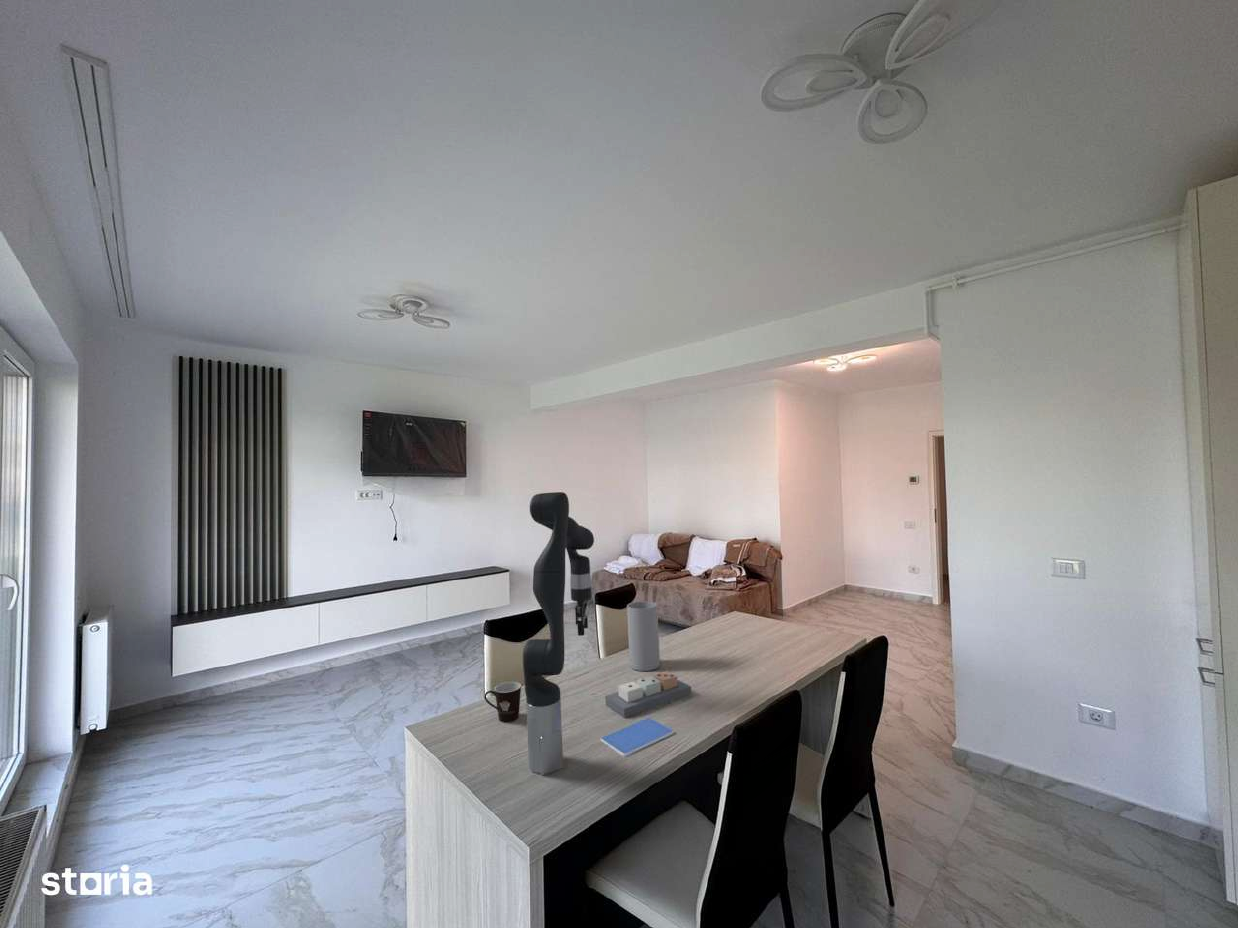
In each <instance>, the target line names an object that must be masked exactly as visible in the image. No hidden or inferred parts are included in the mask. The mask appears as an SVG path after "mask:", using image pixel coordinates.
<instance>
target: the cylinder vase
mask: <svg viewBox="0 0 1238 928" xmlns="http://www.w3.org/2000/svg"><path fill="white" fill-rule="evenodd" d="M626 612H627V631H628V635H627V636H628V653H629V656H628V657H629V667H630V668H631V669H632V670H634V671H637V672H649V671H654V670H656V669H658V668H660V666H661V655H660V654H661V653H660V640H659V638H660V635H659V620H658V619H659V617H658V604H657V603H656V602H653V601H634V602H630V603H628V604H627V605H626Z"/></svg>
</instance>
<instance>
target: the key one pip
mask: <svg viewBox="0 0 1238 928" xmlns="http://www.w3.org/2000/svg"><path fill="white" fill-rule="evenodd" d="M617 687H618V688H617V689H618V694H619V697H620V698H622V699H624V700H625V701H627V702H631V701H634V700H637V699H640V698H643V688H642V686H640V685H638V684H636V682H635V681H630V682H627V683H623V684H620V685H618V686H617Z"/></svg>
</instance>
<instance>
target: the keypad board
mask: <svg viewBox="0 0 1238 928" xmlns="http://www.w3.org/2000/svg"><path fill="white" fill-rule="evenodd" d="M677 680H678V686H677V687H674V688H671V689H668V690H665V691H664V690H662V689H661V692H659V693H656V694H652V695H649V696H645V695H643V698H640V699H637V700H634V701H631V702H627V701H625V700H624V699H622V698H620V697H619V694H618V692H614V693H610V694H607V695H605V697H604V698H605V706H606V707H608V708H609V709H610V710H612V711H613V712H615V713H616V714H618V715H619V716H621V717H622V718H624V719H626V718H630V717H632V716H634V715H637V714H642V713H644V712H647V711H649V710H652V709H656V708H658V707H661V706H663V705H667V704H670V703H672V702H675V701H678V700H682V699H684V698H687V697H690V696H692V686H691V685H689V684H687V683H685V682H683V681H681V680H679V679H677Z"/></svg>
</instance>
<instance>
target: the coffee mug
mask: <svg viewBox="0 0 1238 928" xmlns="http://www.w3.org/2000/svg"><path fill="white" fill-rule="evenodd" d="M521 692H522V684H521V683H520V682H517V681H506V682H501V683H500V684H498V685H496V686H495V687H494V690H488V691H486V692H485V693H484V701H486V703H488V704H487V705H489V706H491V707H492V708H493V709H495V710H496V711H497V716H498V721H500V722H501V723H503V724H504V723H505V724H506V723H513V722H515V721H517V720H518V719H519V716H520V707H521V706H520V704H521V703H520V702H521ZM488 694H493V696H494V697H495V701H496V703H495V704H496V705H494V704H493V703H491V702H490V701H489V700H488V699H487V695H488Z"/></svg>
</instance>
